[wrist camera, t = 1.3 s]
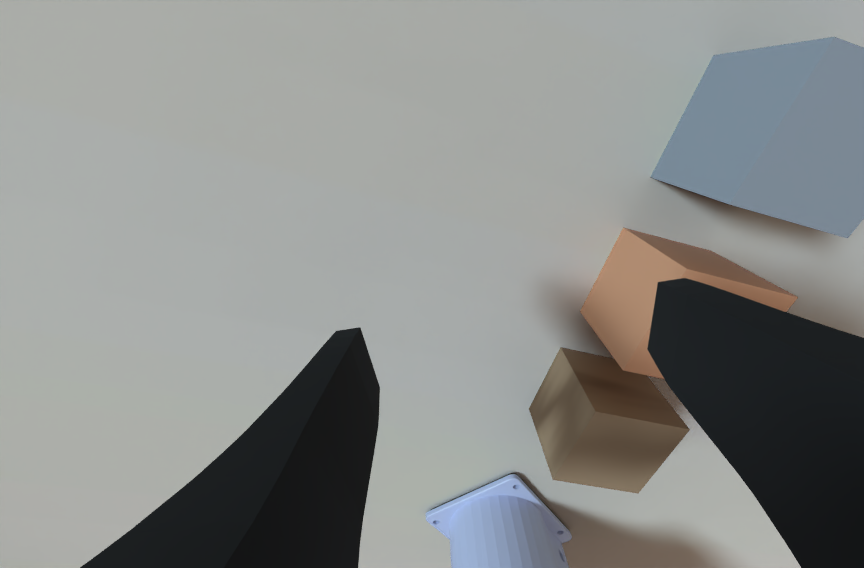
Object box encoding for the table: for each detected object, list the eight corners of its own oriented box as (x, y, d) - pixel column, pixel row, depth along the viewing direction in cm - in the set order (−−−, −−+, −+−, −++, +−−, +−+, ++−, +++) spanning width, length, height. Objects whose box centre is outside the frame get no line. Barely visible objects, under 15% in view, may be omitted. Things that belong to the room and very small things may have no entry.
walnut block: (598, 420, 24) (638, 493, 20) (528, 407, 24) (552, 479, 19) (636, 362, 22) (689, 429, 18) (560, 346, 21) (595, 411, 17)
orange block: (659, 328, 21) (721, 391, 17) (579, 310, 20) (622, 370, 16) (709, 250, 19) (797, 297, 14) (622, 227, 18) (686, 269, 14)
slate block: (741, 203, 18) (847, 238, 13) (649, 176, 17) (728, 204, 13) (813, 90, 16) (969, 87, 11) (711, 55, 15) (834, 36, 10)
